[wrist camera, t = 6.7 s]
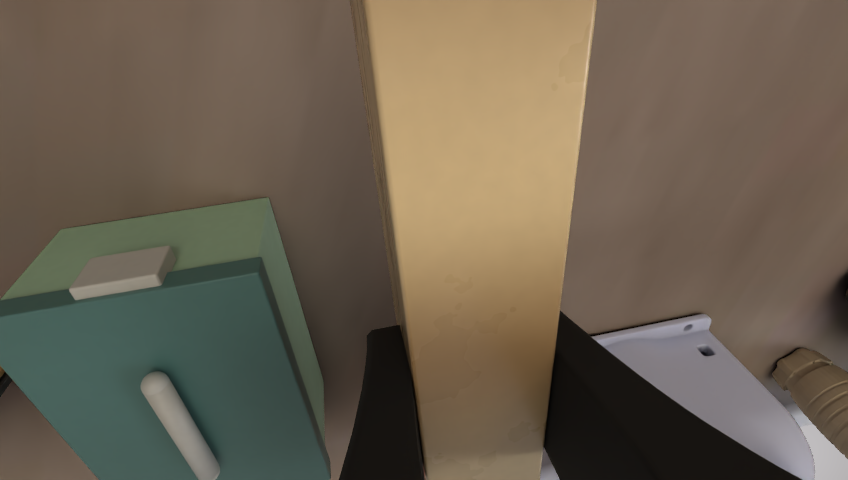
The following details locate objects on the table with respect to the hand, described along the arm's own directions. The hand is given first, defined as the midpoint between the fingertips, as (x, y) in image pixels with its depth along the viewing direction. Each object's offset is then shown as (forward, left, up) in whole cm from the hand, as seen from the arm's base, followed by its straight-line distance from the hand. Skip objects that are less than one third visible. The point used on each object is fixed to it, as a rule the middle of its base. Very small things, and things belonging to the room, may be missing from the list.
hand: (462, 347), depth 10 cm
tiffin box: (+9, +6, -10) cm, 15 cm away
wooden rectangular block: (0, +2, -1) cm, 2 cm away
